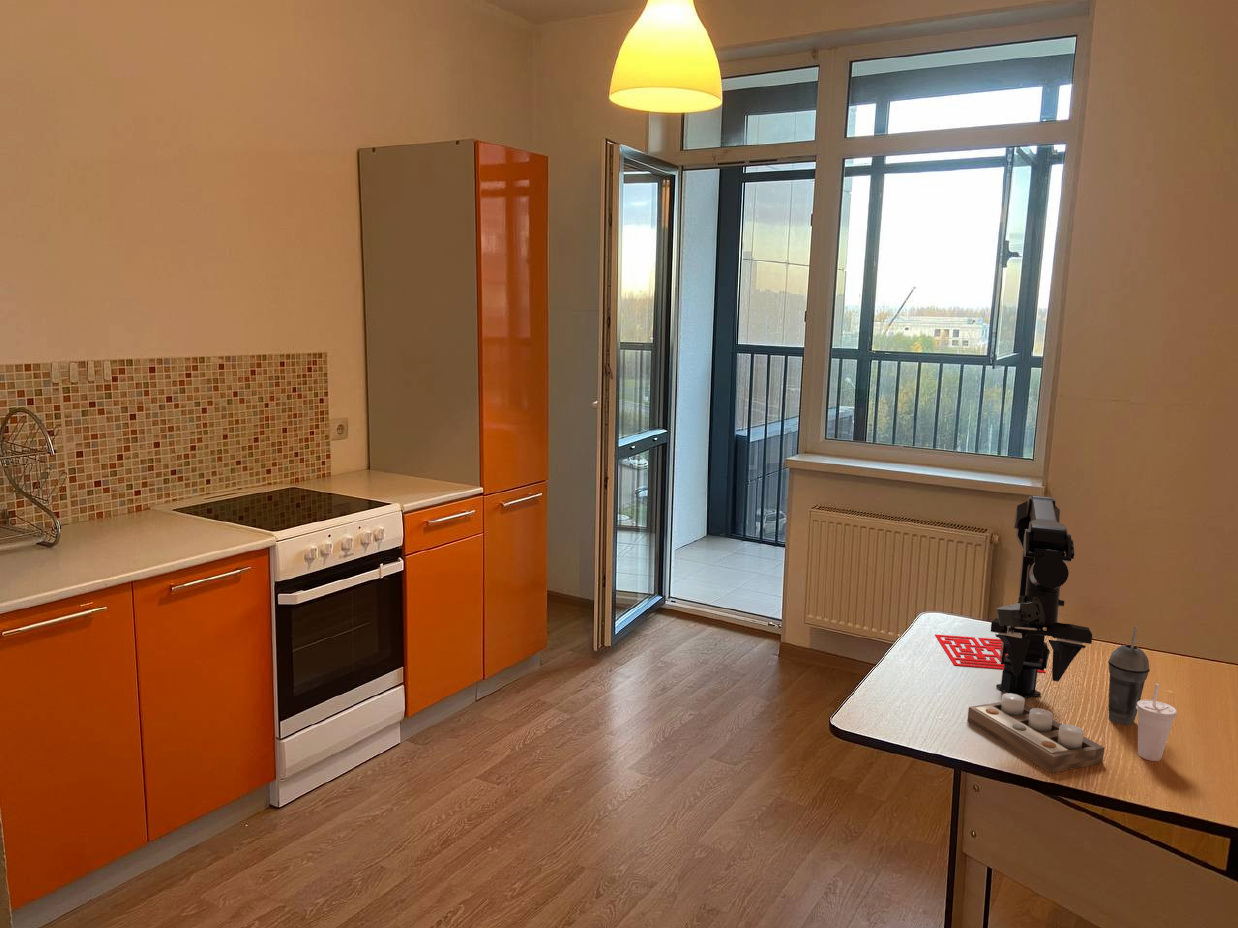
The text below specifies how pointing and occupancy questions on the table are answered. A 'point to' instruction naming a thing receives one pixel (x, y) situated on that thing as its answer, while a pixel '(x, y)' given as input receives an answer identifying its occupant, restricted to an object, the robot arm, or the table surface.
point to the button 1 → (1012, 704)
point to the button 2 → (1070, 736)
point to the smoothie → (1153, 726)
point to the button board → (1033, 739)
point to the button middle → (1040, 720)
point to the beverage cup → (1126, 681)
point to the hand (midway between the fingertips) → (1035, 677)
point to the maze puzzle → (979, 654)
